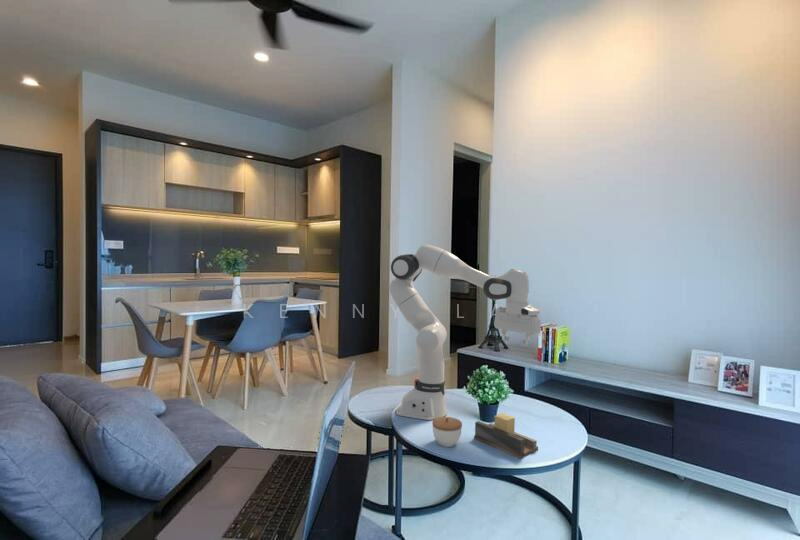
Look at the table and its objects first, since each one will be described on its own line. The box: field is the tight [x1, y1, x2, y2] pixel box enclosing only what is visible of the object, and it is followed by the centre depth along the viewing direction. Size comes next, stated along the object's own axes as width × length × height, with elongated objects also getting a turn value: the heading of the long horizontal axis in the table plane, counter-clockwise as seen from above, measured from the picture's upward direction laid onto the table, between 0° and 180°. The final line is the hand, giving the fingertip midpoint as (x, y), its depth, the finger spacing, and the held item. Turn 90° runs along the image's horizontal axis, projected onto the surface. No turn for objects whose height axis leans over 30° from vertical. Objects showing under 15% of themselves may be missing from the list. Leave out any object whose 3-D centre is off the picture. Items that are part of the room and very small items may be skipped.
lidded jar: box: [431, 416, 463, 448], centre depth 148 cm, size 11×11×9 cm
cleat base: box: [473, 420, 539, 459], centre depth 148 cm, size 11×20×6 cm, turn 39°
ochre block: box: [493, 413, 516, 435], centre depth 148 cm, size 4×6×9 cm
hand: (515, 342), depth 166 cm, fingers open, 8 cm apart
